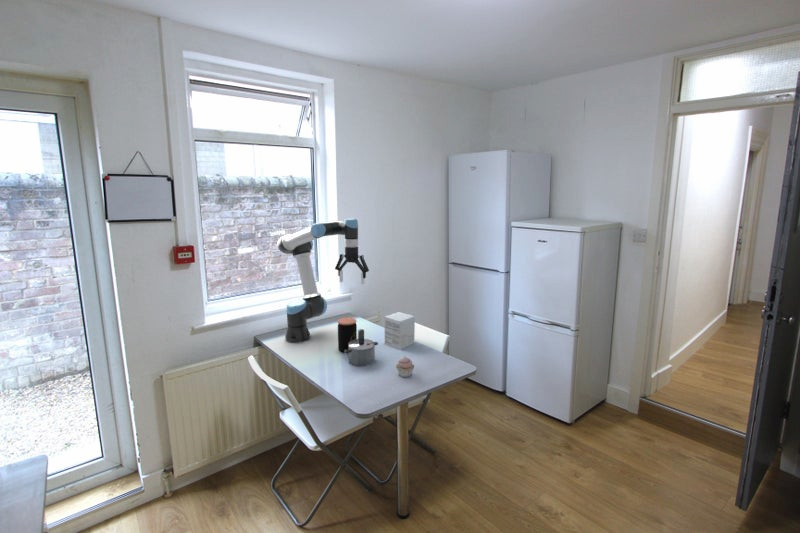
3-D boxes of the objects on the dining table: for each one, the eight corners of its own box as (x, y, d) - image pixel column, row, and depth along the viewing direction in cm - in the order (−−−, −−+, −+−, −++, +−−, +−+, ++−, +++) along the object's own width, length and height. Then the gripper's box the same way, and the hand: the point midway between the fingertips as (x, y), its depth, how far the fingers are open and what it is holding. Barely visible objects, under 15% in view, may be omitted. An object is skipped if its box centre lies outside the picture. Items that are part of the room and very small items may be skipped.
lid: (343, 351, 212) (343, 333, 210) (354, 341, 225) (354, 324, 223) (368, 354, 208) (368, 336, 206) (378, 344, 221) (378, 327, 219)
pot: (351, 370, 206) (351, 354, 204) (338, 361, 217) (338, 345, 215) (384, 360, 218) (384, 345, 216) (370, 352, 229) (370, 337, 227)
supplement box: (398, 338, 251) (398, 311, 247) (414, 343, 242) (415, 316, 239) (383, 344, 241) (383, 316, 237) (400, 350, 232) (400, 321, 229)
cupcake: (405, 369, 208) (405, 351, 206) (418, 375, 202) (418, 356, 200) (391, 374, 202) (392, 356, 200) (404, 381, 195) (404, 362, 193)
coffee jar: (353, 354, 225) (353, 324, 222) (335, 353, 228) (334, 322, 224) (359, 347, 236) (358, 318, 232) (342, 345, 238) (341, 316, 234)
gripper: (328, 245, 226) (329, 282, 231) (369, 248, 219) (369, 286, 223) (334, 244, 233) (335, 279, 238) (374, 246, 226) (374, 283, 230)
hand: (352, 282), depth 230 cm, fingers open, 13 cm apart
